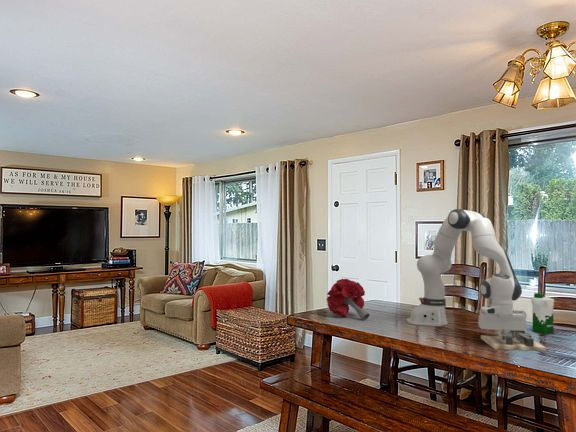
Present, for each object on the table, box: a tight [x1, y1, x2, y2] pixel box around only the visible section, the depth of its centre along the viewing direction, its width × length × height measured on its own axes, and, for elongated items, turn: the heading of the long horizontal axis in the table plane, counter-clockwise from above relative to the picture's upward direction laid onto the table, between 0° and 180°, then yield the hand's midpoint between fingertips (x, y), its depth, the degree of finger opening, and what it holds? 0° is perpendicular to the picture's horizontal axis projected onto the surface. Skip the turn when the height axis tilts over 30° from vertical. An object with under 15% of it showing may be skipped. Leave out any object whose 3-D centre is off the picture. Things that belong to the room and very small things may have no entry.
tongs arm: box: [506, 331, 513, 345], centre depth 193 cm, size 13×3×3 cm, turn 152°
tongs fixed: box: [508, 330, 535, 346], centre depth 194 cm, size 16×6×5 cm, turn 173°
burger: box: [509, 331, 532, 338], centre depth 209 cm, size 12×12×8 cm
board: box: [480, 335, 548, 352], centre depth 194 cm, size 22×18×2 cm
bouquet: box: [326, 278, 370, 321], centre depth 252 cm, size 21×23×30 cm
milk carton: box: [530, 292, 555, 335], centre depth 218 cm, size 9×9×20 cm
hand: (502, 339), depth 192 cm, fingers closed
